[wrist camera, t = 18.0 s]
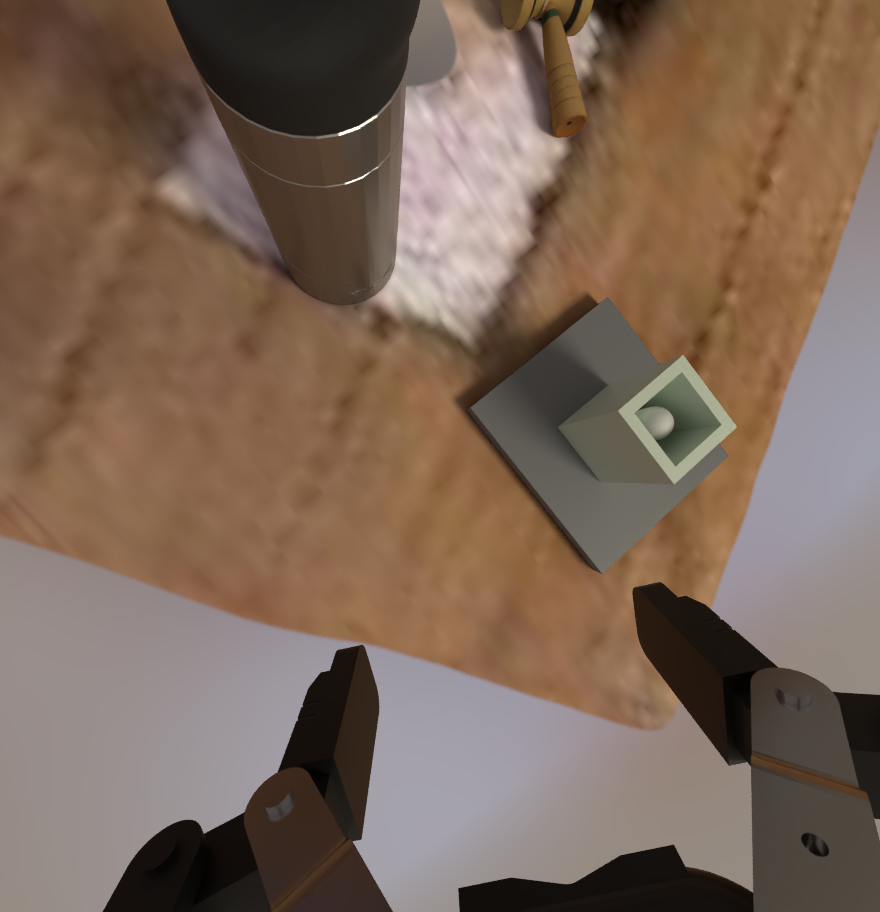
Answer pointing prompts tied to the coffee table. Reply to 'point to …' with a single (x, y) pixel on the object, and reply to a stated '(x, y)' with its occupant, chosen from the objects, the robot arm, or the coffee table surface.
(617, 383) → the collar
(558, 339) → the hub stand
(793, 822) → the robot arm
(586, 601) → the coffee table surface
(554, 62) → the kendama
